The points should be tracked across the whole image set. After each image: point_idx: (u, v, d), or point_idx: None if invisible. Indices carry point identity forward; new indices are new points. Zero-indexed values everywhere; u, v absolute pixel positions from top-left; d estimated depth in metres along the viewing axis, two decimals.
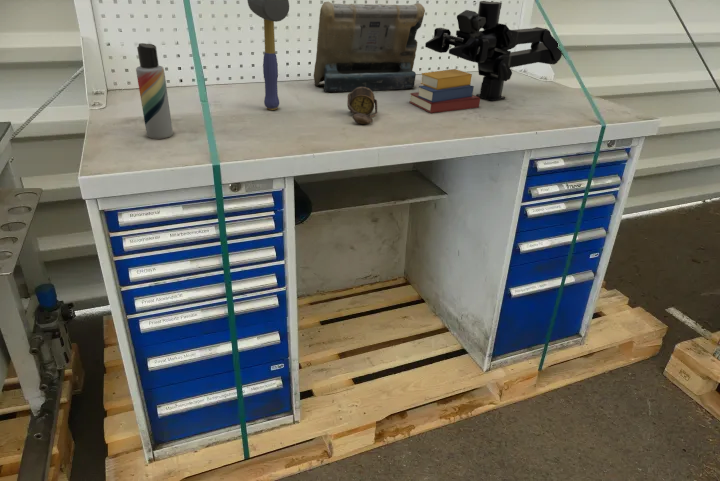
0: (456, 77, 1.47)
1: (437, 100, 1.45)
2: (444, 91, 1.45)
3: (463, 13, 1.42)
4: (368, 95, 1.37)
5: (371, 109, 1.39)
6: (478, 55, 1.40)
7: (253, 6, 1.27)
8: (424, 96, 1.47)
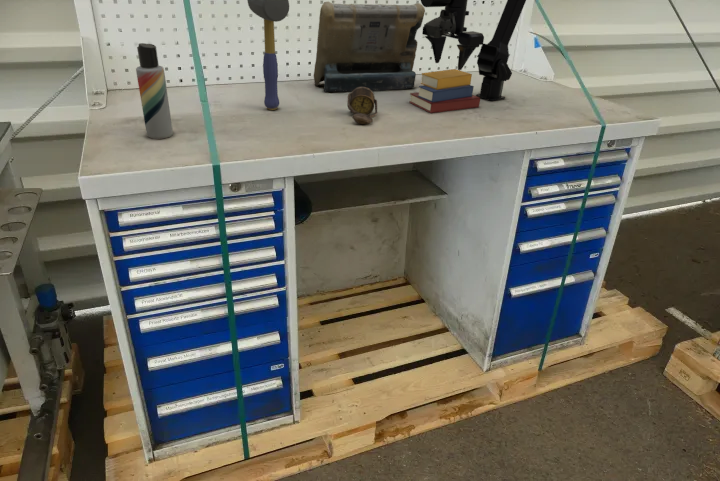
0: (456, 77, 1.47)
1: (437, 100, 1.45)
2: (444, 91, 1.45)
3: (429, 32, 1.40)
4: (368, 95, 1.37)
5: (371, 109, 1.39)
6: None
7: (253, 6, 1.27)
8: (424, 96, 1.47)
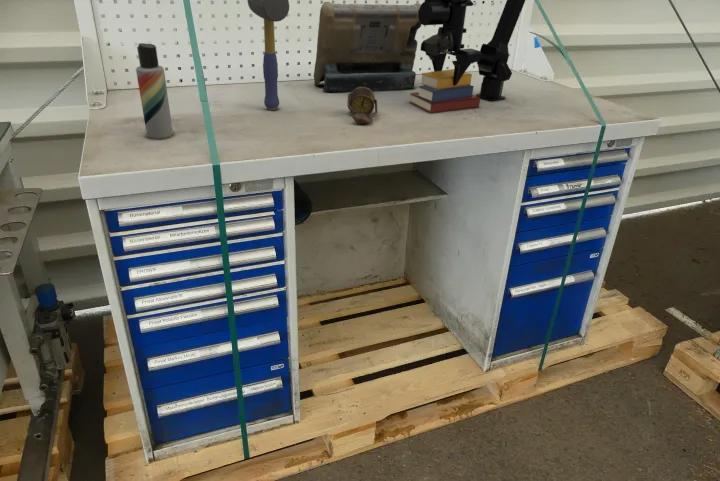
0: None
1: (437, 100, 1.45)
2: (444, 91, 1.45)
3: (427, 49, 1.42)
4: (368, 95, 1.37)
5: (371, 109, 1.39)
6: None
7: (253, 6, 1.27)
8: (424, 96, 1.47)
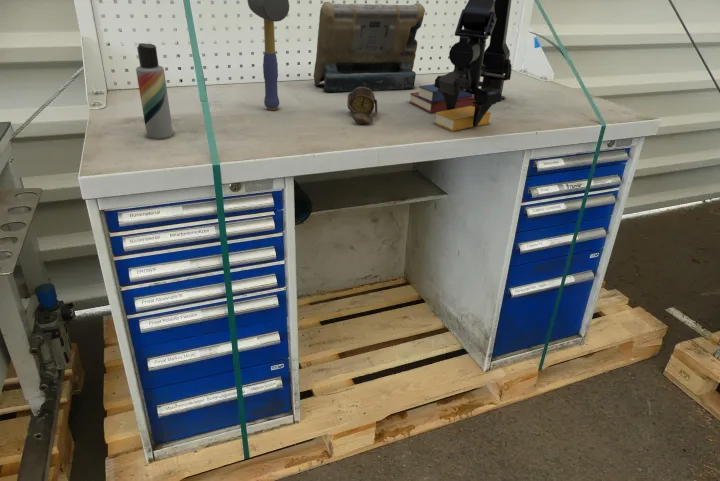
0: (473, 117, 1.35)
1: (437, 100, 1.45)
2: None
3: (442, 88, 1.30)
4: (368, 95, 1.37)
5: (371, 109, 1.39)
6: None
7: (253, 6, 1.27)
8: (424, 96, 1.47)
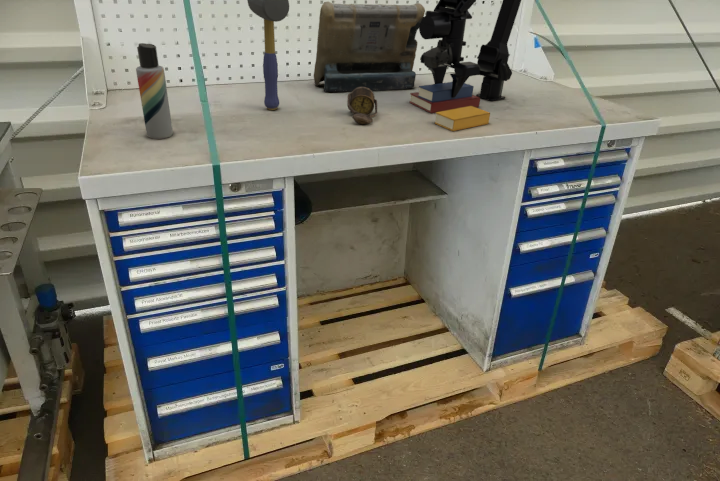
0: (473, 117, 1.35)
1: (437, 100, 1.45)
2: (444, 91, 1.45)
3: (426, 62, 1.42)
4: (368, 95, 1.37)
5: (371, 109, 1.39)
6: None
7: (253, 6, 1.27)
8: (424, 96, 1.47)
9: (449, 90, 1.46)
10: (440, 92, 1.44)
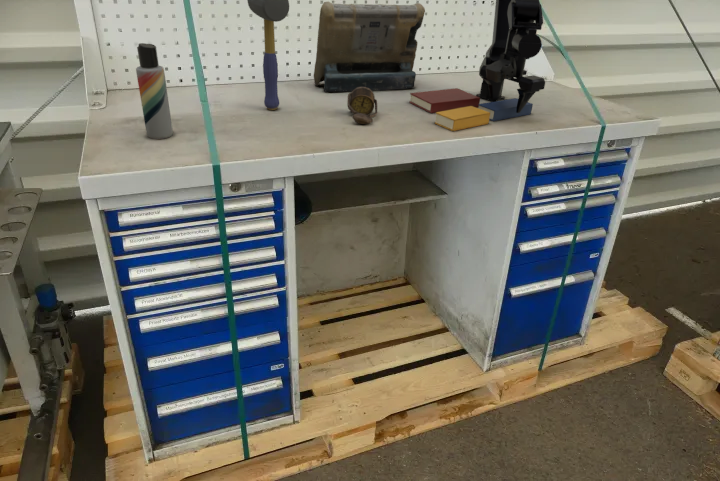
0: (473, 117, 1.35)
1: (498, 119, 1.42)
2: (505, 109, 1.42)
3: (489, 76, 1.39)
4: (368, 95, 1.37)
5: (371, 109, 1.39)
6: None
7: (253, 6, 1.27)
8: None
9: (510, 108, 1.43)
10: (501, 111, 1.42)
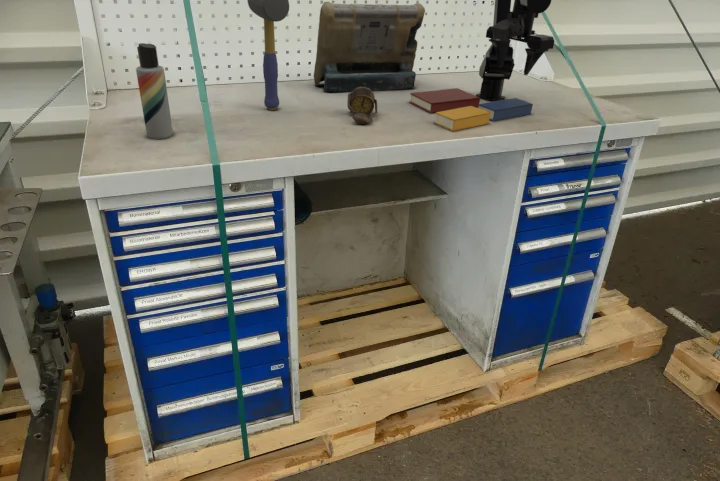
0: (473, 117, 1.35)
1: (498, 119, 1.42)
2: (505, 109, 1.42)
3: (496, 35, 1.33)
4: (368, 95, 1.37)
5: (371, 109, 1.39)
6: None
7: (253, 6, 1.27)
8: None
9: (510, 108, 1.43)
10: (501, 111, 1.42)
